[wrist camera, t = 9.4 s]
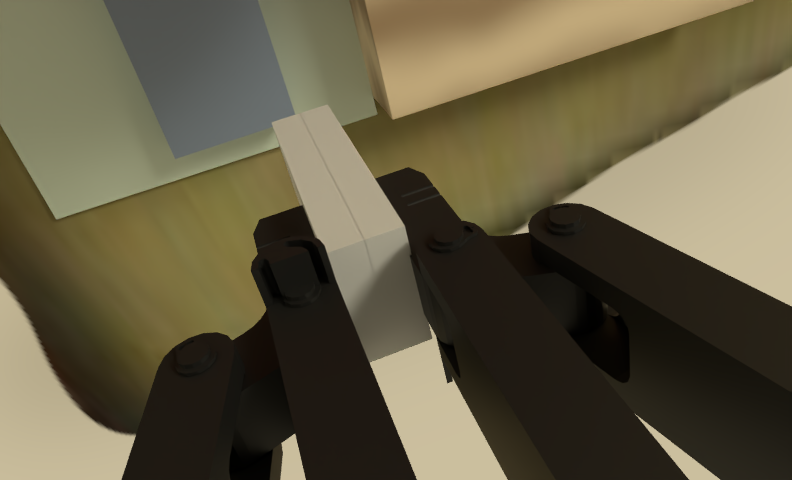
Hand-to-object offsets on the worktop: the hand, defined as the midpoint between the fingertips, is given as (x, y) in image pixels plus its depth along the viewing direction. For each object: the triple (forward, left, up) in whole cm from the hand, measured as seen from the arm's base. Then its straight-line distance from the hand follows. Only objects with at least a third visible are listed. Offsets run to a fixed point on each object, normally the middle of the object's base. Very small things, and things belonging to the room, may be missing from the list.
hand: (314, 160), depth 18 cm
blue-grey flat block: (0, -2, -15) cm, 15 cm away
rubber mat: (+1, -4, -17) cm, 17 cm away
